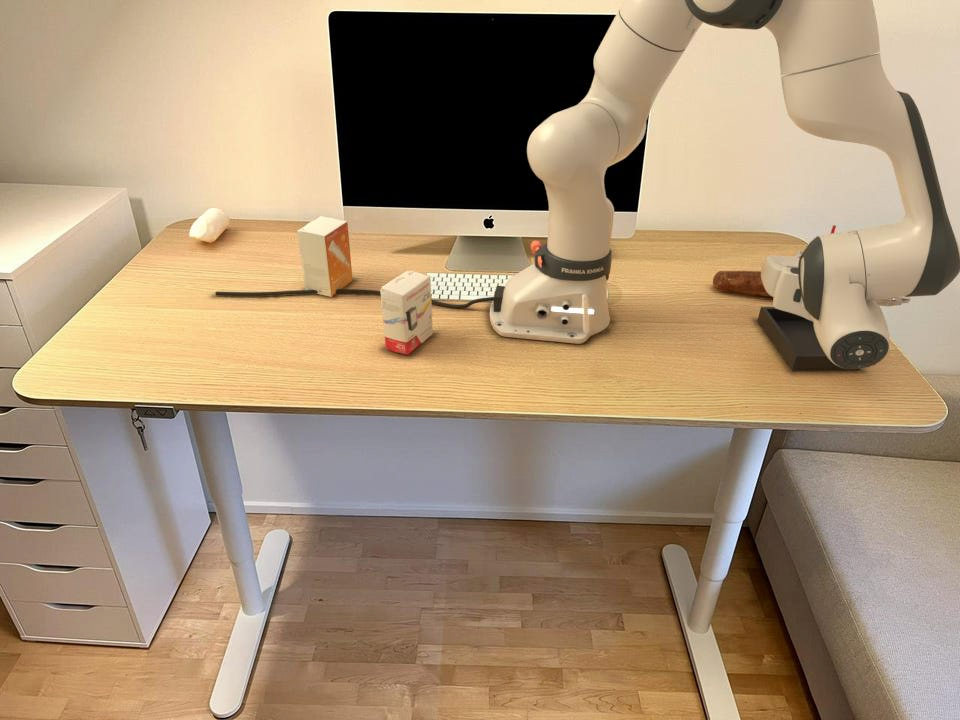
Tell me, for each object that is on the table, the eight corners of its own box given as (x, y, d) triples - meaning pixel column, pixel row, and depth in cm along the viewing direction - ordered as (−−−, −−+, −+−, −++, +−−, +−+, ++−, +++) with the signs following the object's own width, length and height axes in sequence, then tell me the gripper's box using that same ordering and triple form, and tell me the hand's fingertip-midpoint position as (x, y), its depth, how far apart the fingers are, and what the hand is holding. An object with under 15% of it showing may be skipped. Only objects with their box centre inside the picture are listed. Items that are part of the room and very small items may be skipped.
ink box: (407, 357, 122) (403, 296, 115) (383, 349, 124) (378, 289, 117) (434, 334, 128) (432, 275, 121) (411, 326, 130) (408, 268, 124)
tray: (792, 371, 120) (796, 356, 118) (756, 320, 133) (760, 306, 132) (859, 370, 120) (865, 355, 118) (817, 320, 134) (822, 306, 132)
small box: (331, 298, 139) (324, 236, 131) (304, 291, 141) (295, 230, 134) (354, 280, 145) (348, 220, 138) (327, 274, 147) (320, 215, 140)
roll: (185, 251, 155) (179, 227, 152) (206, 229, 165) (201, 206, 162) (212, 252, 155) (207, 228, 152) (232, 230, 165) (227, 207, 162)
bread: (812, 307, 138) (820, 282, 134) (711, 294, 142) (716, 268, 139) (809, 292, 143) (817, 267, 139) (711, 279, 147) (716, 255, 144)
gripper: (921, 285, 103) (897, 246, 114) (772, 270, 106) (763, 233, 118) (906, 323, 106) (884, 282, 117) (762, 306, 110) (755, 268, 121)
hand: (822, 257), depth 118 cm, fingers closed on beverage cup, 6 cm apart
